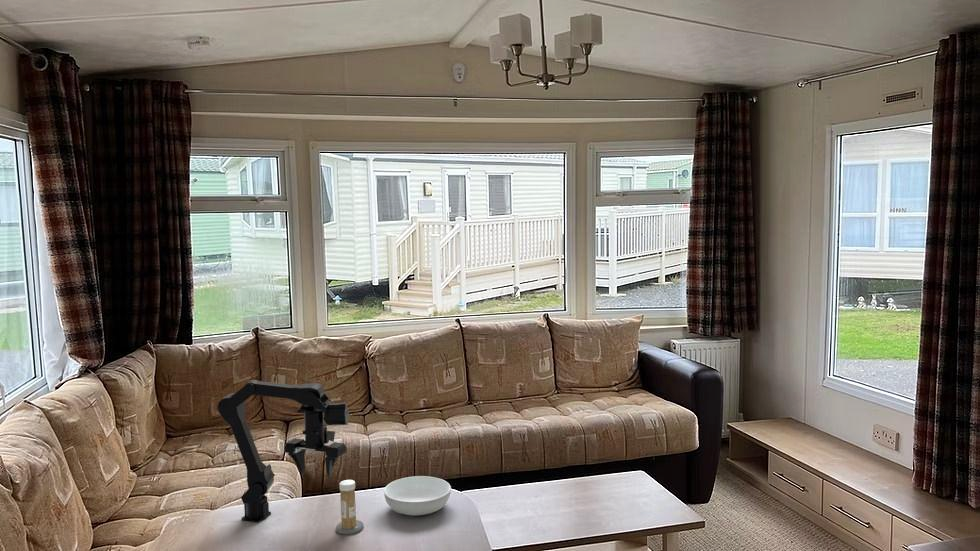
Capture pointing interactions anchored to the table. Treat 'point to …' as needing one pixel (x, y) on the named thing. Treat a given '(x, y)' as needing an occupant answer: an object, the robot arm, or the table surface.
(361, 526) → the coaster
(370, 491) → the table surface
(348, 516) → the sprinkles bottle
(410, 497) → the serving bowl
